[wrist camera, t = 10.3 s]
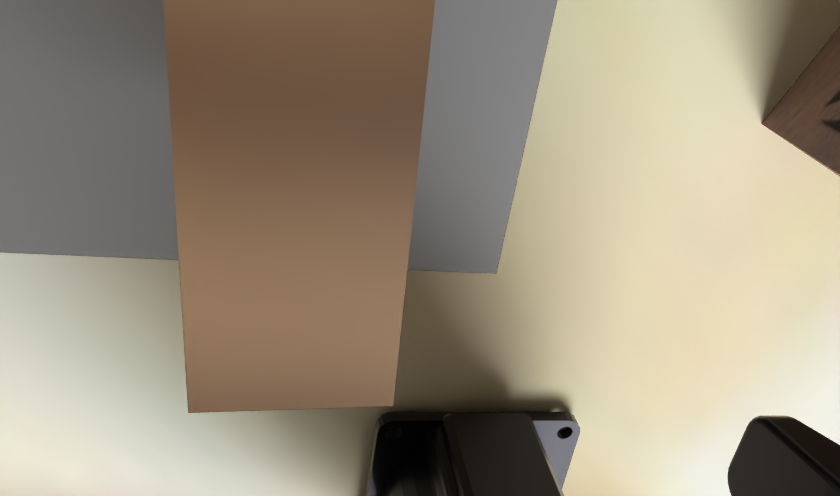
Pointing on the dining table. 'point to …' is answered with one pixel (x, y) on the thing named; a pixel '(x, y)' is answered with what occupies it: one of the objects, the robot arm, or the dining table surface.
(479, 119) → the stand
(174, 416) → the dining table surface
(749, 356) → the dining table surface
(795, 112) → the tissue box cover
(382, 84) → the walnut bar
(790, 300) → the dining table surface
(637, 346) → the dining table surface
